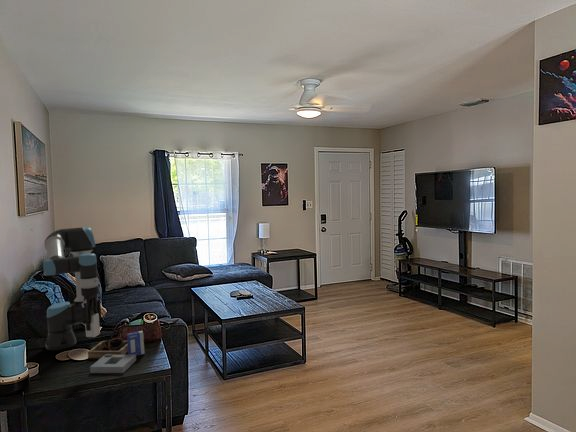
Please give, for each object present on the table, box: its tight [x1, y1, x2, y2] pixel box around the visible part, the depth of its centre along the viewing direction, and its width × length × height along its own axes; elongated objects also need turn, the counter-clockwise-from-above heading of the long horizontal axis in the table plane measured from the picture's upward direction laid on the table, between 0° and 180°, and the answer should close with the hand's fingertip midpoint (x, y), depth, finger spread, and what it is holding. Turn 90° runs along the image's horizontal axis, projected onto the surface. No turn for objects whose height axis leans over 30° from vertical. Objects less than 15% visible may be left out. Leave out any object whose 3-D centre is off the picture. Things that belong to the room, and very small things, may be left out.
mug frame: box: [87, 340, 128, 359], centre depth 224 cm, size 15×17×4 cm
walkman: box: [126, 330, 146, 357], centre depth 219 cm, size 8×3×12 cm, turn 123°
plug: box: [84, 310, 101, 338], centre depth 202 cm, size 4×4×12 cm
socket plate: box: [89, 354, 137, 374], centre depth 206 cm, size 14×16×4 cm
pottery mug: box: [104, 337, 125, 351], centre depth 225 cm, size 12×10×8 cm
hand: (93, 334), depth 202 cm, fingers closed on plug, 4 cm apart
